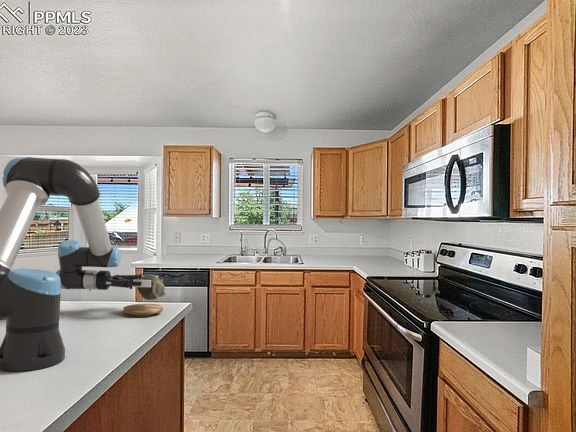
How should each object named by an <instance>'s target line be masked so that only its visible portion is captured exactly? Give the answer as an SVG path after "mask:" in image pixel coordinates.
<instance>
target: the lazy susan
mask: <svg viewBox="0 0 576 432" xmlns="http://www.w3.org/2000/svg"><path fill="white" fill-rule="evenodd" d="M122 311H123V313H124V314H127V315H130V314H136V315H144V314H154V313H156V314H159V313H161V312H163V311H164V306H163V305H161V304H157V303H135V304H129V305H126V306H123V310H122Z"/></svg>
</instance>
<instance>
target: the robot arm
mask: <svg viewBox="0 0 576 432" xmlns="http://www.w3.org/2000/svg"><path fill="white" fill-rule="evenodd" d="M2 174H3V176H2V177H1V179H2V186H3V187H4V189H5V193H6V194H7V196H6V198H5V200H4V202H3V204H2V205H1V208H0V321H5V323H6V324H5V325H6V326H5V334H4V338H3V339H2V342H1V344H0V370H1V371H5V372H26V371H27V372H28V371H33V370H34V371H35V370H40V369H45V368H48V367H52V366H55V365H57V364H60V363H61V362H63V361H64V360H65V358H66V347H65V343H64V341H63V338H62V334H61V332H60V312H61V295H62V289H63V290H88V291H89V292H91V291H92V290H99V291H101V290H102V291H107V290H109V288H110V287H117V288H124V289H125V288H127V289H129V290H132V289H133V288H138V287H151V280H140V279H141V278H142V276H145V275H146V274H145V275H143V273H140V274H125V275H124V274H114V275H111V272H110V270H98V269H97V270H96V269H95V270H93V269H83V267H85V268H86V267H87V268H90V267H91V268H106V269H107V268H117V267H118V266H119V265H120V263H121V259H122V253H121V249H120V248H118V247H113V246H112V243H111V239H110V236H109V233H108V230H107V226H106V221H105V220H104V219H105V218H104V216H103V212H102V207H101V204H100V201H99V199H100V195H101V192H100V191H99V187H98V184H97V183H96V180H95V179H94V177H93V176H92V175H91V174H90V173H89V171H87V170H86V169H85V168H84V167H83V166H81V165H80V164H78V163H77V162H75V161H72V160H70V159H66V158H61V159H60V158H58V159H57V158H42V157H31V156H25V157H15V158H13V159H11V160H9V162H8V163H7V164H6V165H5V167H4V169H3V172H2ZM50 196H64V197H66V198H67V199H68V201H69V203H70V204H71V205H72V206H74V208H75V211H76V213H77V217H78V219H79V223H80V225H81V228H82V230H83V233H84V236H85V240H86V242H87V244H88V245H87V246H81V245H80V242H79V241H78V240H73V239H70V240H69V239H68V240H65V241H62V242H60V243H59V244H58V246H57V254H58V255H57V257H58V263H59V269H57V270H56V271H55V272H53V271H50V270H46V269H37V268H14V269H13V268H12V267H13V265H14V262H15V260H16V258H17V256H18V254H19V252H20V250H21V247H22V245H23V242H24V240H25V238H26V236H27V234H28V232H29V229H30V228H31V226H32V223H33V221H34V218H35V217H36V214H37V211H38V209H39V207H41V206H44V205H46V203H48V201H49V198H50ZM155 276H156V277H158V278H159V275H155Z"/></svg>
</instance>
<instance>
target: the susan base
mask: <svg viewBox="0 0 576 432" xmlns="http://www.w3.org/2000/svg"><path fill="white" fill-rule="evenodd" d="M129 315H130V316H131V317H140V318H141V317H151V316H154V315H157V313H154V314H144V315H136V314H129Z"/></svg>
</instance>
